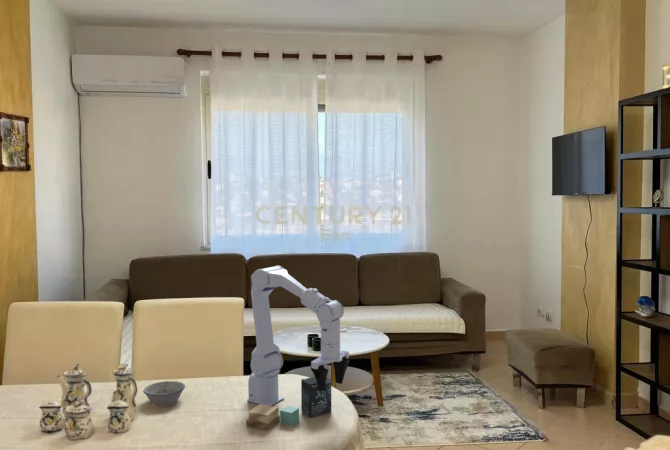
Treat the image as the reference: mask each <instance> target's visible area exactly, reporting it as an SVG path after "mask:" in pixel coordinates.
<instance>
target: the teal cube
mask: <svg viewBox="0 0 670 450" xmlns="http://www.w3.org/2000/svg"><path fill="white" fill-rule="evenodd" d="M279 413H280V414H279V416H280V423H279V424H282V425H285V426H290V427H293V426H294V425H295V424H297V423H299V422H300V408H298V407H295V406H290V405H287V406H285V407H284V408H282V409H280V410H279Z"/></svg>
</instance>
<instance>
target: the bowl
mask: <svg viewBox="0 0 670 450" xmlns="http://www.w3.org/2000/svg"><path fill="white" fill-rule="evenodd" d="M185 388H186V385H185V384H184V383H183V382H181V381H177V380H176V381H175V380H173V381H170V380H169V381H168V380H167V381H159V382H155V383H151V384H148V385H147V386H145V388H144V389H143V390H142V391H143V394H145V396H146V397H147V399H148V400H149V402H150V403H151V404H152V405H153V404H154V405H153V406H156V405H157V407H167V406H171V405H173V403H174V404H176V403H177V402H178V401H179V399H180V396H182V395H181V394H182V393H183V392H184V389H185ZM175 402H176V403H175ZM166 405H167V406H166Z"/></svg>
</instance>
